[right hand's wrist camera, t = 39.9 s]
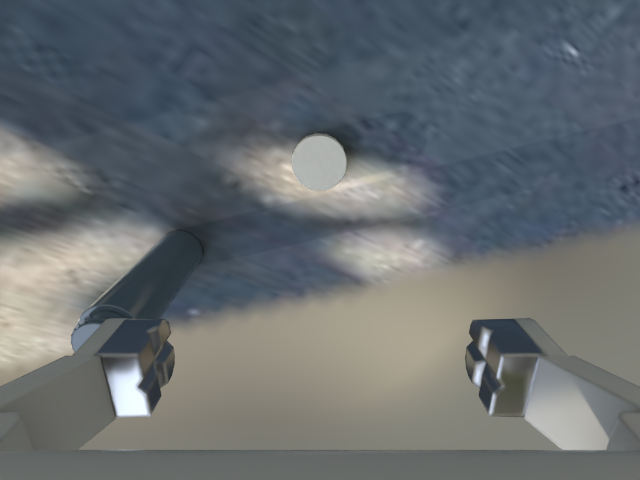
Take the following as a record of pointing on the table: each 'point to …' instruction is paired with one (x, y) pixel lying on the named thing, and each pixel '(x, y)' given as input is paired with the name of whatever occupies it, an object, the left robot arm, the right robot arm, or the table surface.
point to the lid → (319, 162)
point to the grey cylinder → (144, 285)
